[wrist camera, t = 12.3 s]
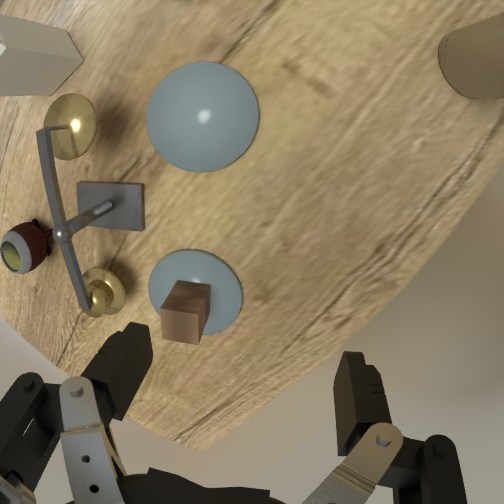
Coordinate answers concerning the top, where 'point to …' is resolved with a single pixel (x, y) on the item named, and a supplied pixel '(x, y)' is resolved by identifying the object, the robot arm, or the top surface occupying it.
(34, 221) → the mate gourd
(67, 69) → the milk carton
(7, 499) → the robot arm
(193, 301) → the walnut block
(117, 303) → the balance
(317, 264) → the top surface
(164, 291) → the dish
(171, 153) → the pale blue flat disc
